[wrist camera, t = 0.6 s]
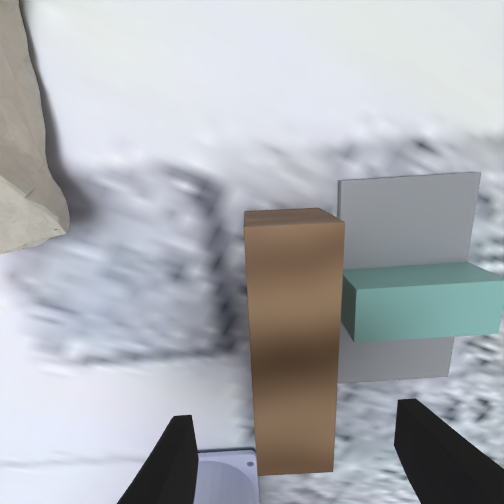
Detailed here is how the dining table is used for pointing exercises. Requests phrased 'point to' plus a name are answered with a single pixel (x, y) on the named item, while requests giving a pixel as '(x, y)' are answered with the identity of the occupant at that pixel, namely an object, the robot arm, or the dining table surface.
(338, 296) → the walnut bar
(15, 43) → the rock
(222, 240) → the dining table surface
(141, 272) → the dining table surface
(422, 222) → the board
